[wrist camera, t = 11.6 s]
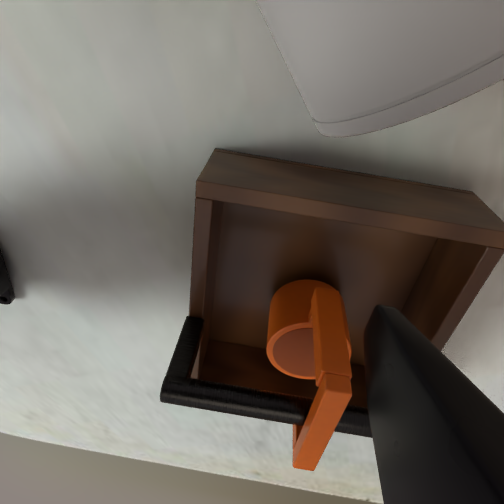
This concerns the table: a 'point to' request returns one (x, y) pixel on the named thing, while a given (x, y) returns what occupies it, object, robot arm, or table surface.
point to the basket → (327, 258)
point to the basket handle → (241, 392)
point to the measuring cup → (312, 358)
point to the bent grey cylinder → (385, 56)
